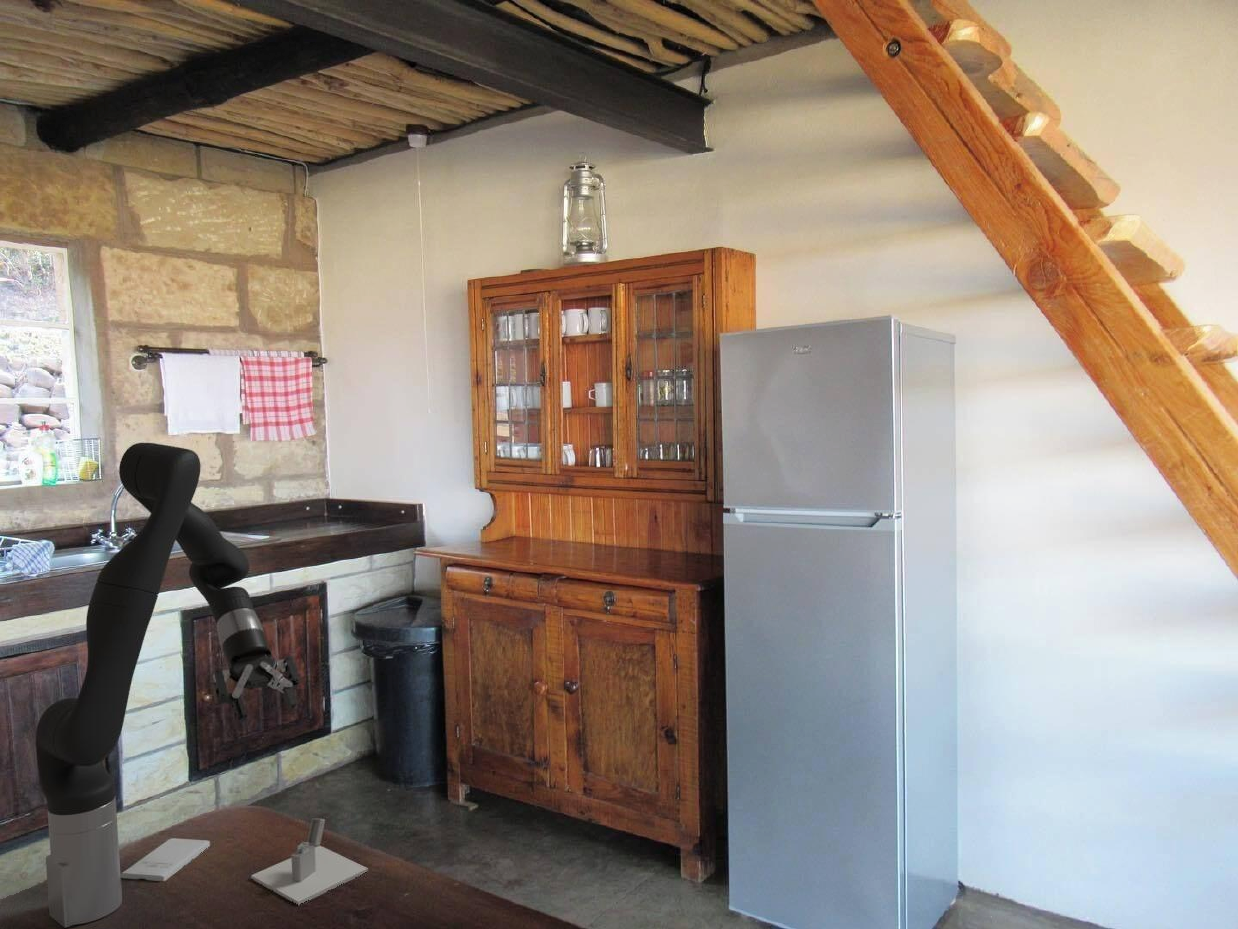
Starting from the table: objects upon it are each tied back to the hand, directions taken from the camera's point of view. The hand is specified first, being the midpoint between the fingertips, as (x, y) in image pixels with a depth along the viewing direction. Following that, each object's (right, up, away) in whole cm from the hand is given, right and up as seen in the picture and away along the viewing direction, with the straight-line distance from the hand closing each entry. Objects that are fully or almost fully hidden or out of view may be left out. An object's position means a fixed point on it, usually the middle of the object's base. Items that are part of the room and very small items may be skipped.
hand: (268, 714), depth 164 cm
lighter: (+10, -24, -8) cm, 27 cm away
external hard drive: (-17, -26, -2) cm, 31 cm away
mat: (+10, -25, -8) cm, 28 cm away
